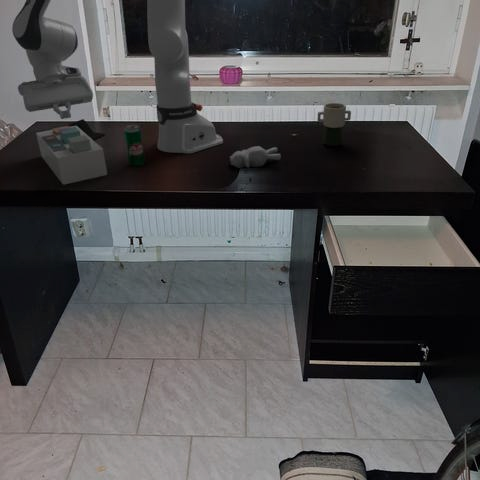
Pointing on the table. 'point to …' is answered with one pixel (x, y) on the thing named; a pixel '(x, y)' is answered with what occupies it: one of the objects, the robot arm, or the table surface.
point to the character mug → (333, 122)
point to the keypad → (71, 158)
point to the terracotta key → (56, 130)
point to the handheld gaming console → (87, 129)
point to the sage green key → (79, 144)
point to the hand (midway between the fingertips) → (66, 117)
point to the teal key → (68, 134)
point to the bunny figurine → (253, 157)
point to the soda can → (134, 145)
